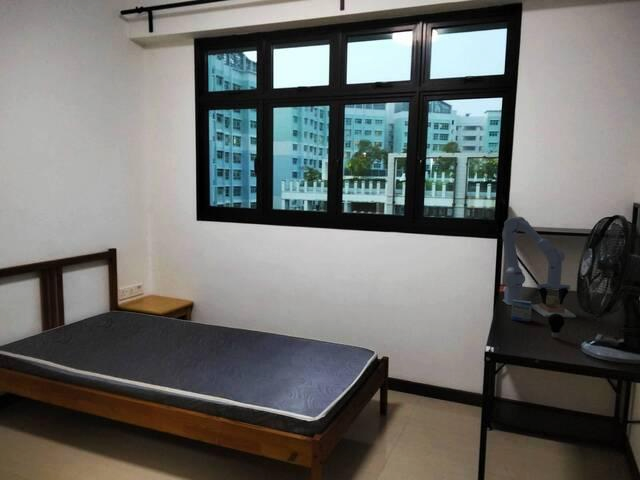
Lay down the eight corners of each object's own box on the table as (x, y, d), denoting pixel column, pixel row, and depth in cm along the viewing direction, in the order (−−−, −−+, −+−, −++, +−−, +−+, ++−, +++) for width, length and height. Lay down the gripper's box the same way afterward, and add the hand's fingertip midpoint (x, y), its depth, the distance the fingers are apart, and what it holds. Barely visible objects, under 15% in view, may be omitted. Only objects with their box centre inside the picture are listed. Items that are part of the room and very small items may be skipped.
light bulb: (548, 334, 191) (550, 310, 189) (564, 338, 187) (566, 313, 186) (545, 338, 186) (546, 314, 185) (561, 341, 182) (563, 316, 181)
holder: (529, 306, 235) (529, 300, 234) (557, 307, 234) (558, 301, 234) (544, 316, 217) (545, 310, 216) (575, 317, 216) (576, 311, 216)
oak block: (550, 311, 222) (551, 298, 221) (544, 307, 228) (545, 295, 227) (559, 311, 222) (560, 299, 221) (553, 308, 228) (554, 296, 227)
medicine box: (511, 319, 211) (512, 300, 210) (512, 317, 215) (513, 298, 214) (530, 322, 208) (531, 303, 207) (530, 319, 212) (532, 301, 210)
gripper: (542, 277, 220) (540, 305, 221) (574, 277, 219) (571, 306, 221) (536, 274, 227) (534, 301, 228) (566, 274, 226) (564, 302, 228)
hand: (552, 303), depth 225 cm, fingers open, 7 cm apart
